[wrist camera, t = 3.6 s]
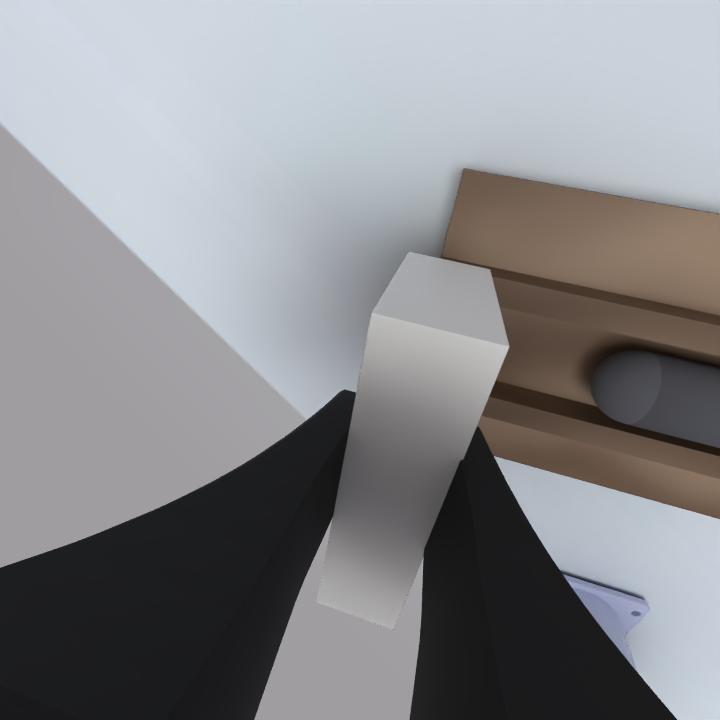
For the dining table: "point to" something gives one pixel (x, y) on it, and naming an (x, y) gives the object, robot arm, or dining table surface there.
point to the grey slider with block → (660, 394)
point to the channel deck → (591, 325)
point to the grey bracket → (409, 429)
